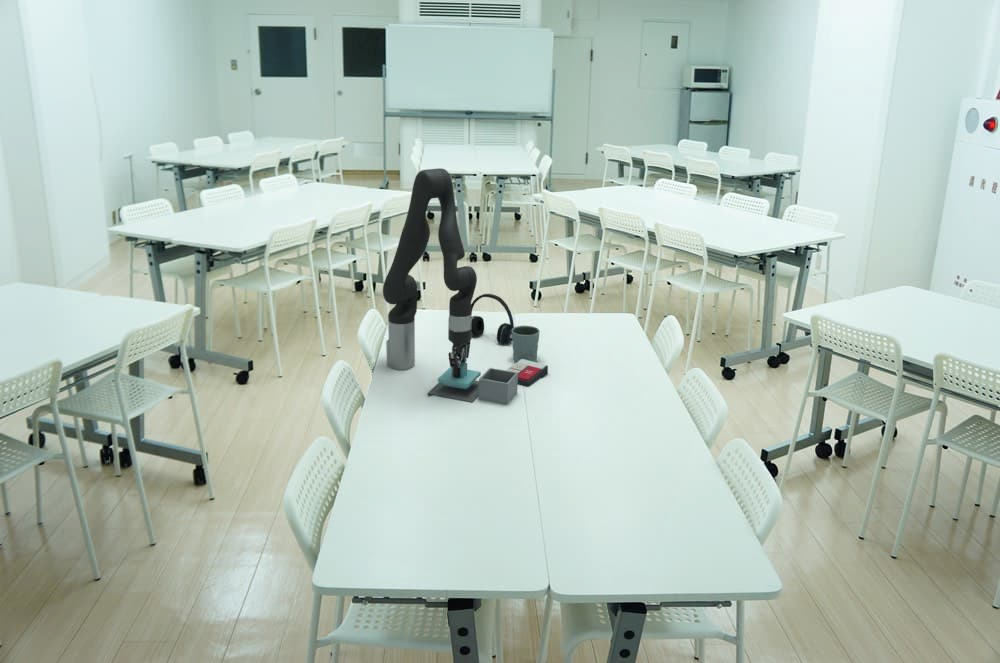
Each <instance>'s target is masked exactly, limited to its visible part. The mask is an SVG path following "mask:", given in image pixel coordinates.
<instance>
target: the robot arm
mask: <svg viewBox="0 0 1000 663" xmlns="http://www.w3.org/2000/svg"><path fill="white" fill-rule="evenodd" d="M452 180H453V179H452V177H451V175H450V172H448V170H446V169H444V168H429V169H422V170H420V171H418V172H417V174H416V176H415V177H414V180H413V181H414V182H413V185H412V190H411V191H412V192H411V195H410V200H409V201H410V202H409V207H408V210H407V214H406V218H405V220H404V221H405V222H404V225H403V227H402V230H401V235H400V237H399V242H398V245H397V249H396V252H395V254H394V258H393V261H392V263H391V265H390V268H389V270H388V272H387V275H386V277H385V278H384V282H383V285H382V295H383V299H384V301H385V302H386V303H388V304H389V305H394V307H392V308H391V310H389V312H388V313H387V314H388V315H387V319H388V320H387V321H388V322H387V324H388V325H387V326H388V327H387V328H388V339H387V340H386V367H390V368H391V369H393V370H398V371H399V370H401V371H405V370H409V369H413V368H414V367H415V366H416V363H415V362H416V359H415V358H416V335H415V334H416V333H415V323H416V322H415V319H416V318H415V317H416V315H417V312H418V311H417V309H418V292H419V291H418V284H417V281H416V280H415V278H414V277H413V276H412V275H411V274H410V272H411V270H412V269H413V268H414V266H415V265H416V264H417V263H418V262H419V261H420V260H421V258H422V256H423V255H424V253H425V252H426V249H427V246H428V244H429V240H430V236H431V229H430V225H429V224H430V223H429V222H428V219H427V211H428V207H429V204H430V201H431V200H432V199H438V201H439V202H438V203H439V204H440V211H441V212H440V222H439V226H438V234H437V237H438V241H439V246H440V249H441V253H442V257H443V281H444V285H445V286H446V288H447V289H448V290H450V291H451V292H452V291H453V292H456V293H455V294H453V295H452V296H451V297H450V298H449V302H448V303H449V306H448V308H449V310H448V311H449V312H448V314H449V316H448V335H447V336H448V338H447V339H448V341H449V342H450V343H452V347H451V352H449V351H448V354H447V355H448V361H449V368H450V367H453V377H455V378H459V377H460V365H461V362H465V363H467V360H468V358H469V356H470V349H471V348H470V347H471V340H472V336H471V322H472V321H471V304H472V302H473V301H472V300H473V298H474V294H475V290H476V286H477V282H478V281H477V280H478V278H477V277H478V276H477V273H476V270H475V269H474V268H473V267H472V266H469V265H465V266H461V267H458V261H460V260H462V259H463V258H464V257H465V254H466V253H465V249H464V244H463V241H462V239H461V238H462V236H461V234H460V230H459V224H458V220H457V210H456V201H455V193H454V185H453V181H452ZM457 291H458V292H457Z"/></svg>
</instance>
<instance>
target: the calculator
mask: <svg viewBox="0 0 1000 663" xmlns="http://www.w3.org/2000/svg"><path fill="white" fill-rule="evenodd" d="M548 369H549V366H548V365H547V364H545V363H541V362H537V361H536V362H533V361H529V360H525V359H521V360H519V361H518V362H517V363H515V362H514V364H513V365H511V366H510V367H509V368H507V369H506V371H512V372H517V373H518V386H519V385H520V386H523V387H528V388H529V387H531V386H532V385H533V384H534V383H536V382H538V381H539V380H540V379H544V377H546V376H547V375H548V373H549V372H548V371H549V370H548Z"/></svg>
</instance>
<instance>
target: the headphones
mask: <svg viewBox="0 0 1000 663" xmlns="http://www.w3.org/2000/svg"><path fill="white" fill-rule="evenodd" d="M482 298H490V299H492V300H495V301H497V302H499V303H500V305H502V307H503V308H504V309H505V311H506V313H507V316H508V320H509V323H506V322H503V323H501V324H500V325H499V327H498V328H497V333H496V341H497V343H500V344H502V345H506V344H508V343H509V344H510V343H513V342H512V329H513V328H514V327H515V324H514V317H513V315H512V312H511V310H510V308H509V306H508V304H507V303H506V301H505V300H504V299H502V297H500V296H498V295H495V294H494V293H483V294H481V295H479V296H477V297H476V298H475V299H474V300H473V301H471V321H472V322H471V337H480V336H481V335H483V333H484V332H485V321H484V319H483V317H482V316H479V315H474V316H473V315H472V314H473V309H474V306H475V304H476V303H477V302H478V301H479V300H481V299H482Z"/></svg>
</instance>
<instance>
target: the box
mask: <svg viewBox="0 0 1000 663" xmlns="http://www.w3.org/2000/svg"><path fill="white" fill-rule="evenodd" d="M506 370H507V369H506ZM506 370H505V369H499V368H493V367H489V368H488V369H487V370H486V371H485V372H484V373H483V375H480V376H479V379H478V381H479V396H478V400H479V401H483V402H488V403H489V402H490V403H494V404H499V405H500V404H501V405H505V406H508V405H509V404H510V403H511V401H513V399H514V398H515V396H517V394H518V386H519V384H518V373H517V372H512V371H506Z"/></svg>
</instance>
